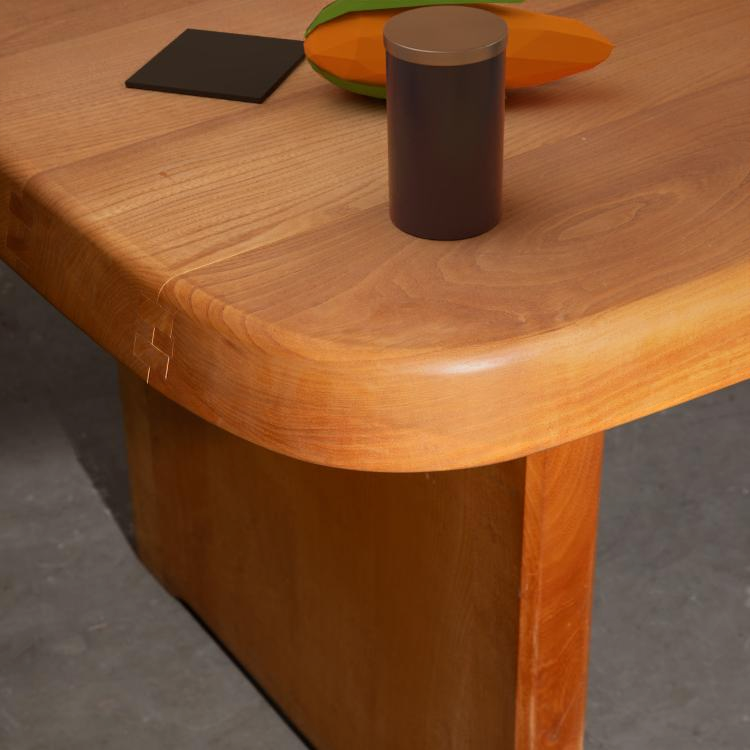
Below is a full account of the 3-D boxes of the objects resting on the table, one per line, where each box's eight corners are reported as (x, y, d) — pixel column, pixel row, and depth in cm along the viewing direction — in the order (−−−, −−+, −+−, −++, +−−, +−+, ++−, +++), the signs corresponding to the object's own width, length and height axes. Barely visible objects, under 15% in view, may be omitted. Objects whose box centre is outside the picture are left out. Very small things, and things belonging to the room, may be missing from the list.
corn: (307, -40, 95) (615, -39, 93) (314, 66, 100) (607, 69, 98) (293, 8, 89) (620, 10, 88) (301, 119, 94) (612, 123, 92)
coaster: (315, 47, 103) (315, 41, 103) (261, 103, 96) (260, 97, 95) (187, 33, 106) (187, 28, 106) (125, 87, 98) (124, 81, 98)
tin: (516, 194, 84) (522, 11, 78) (486, 248, 79) (489, 57, 73) (408, 179, 86) (405, 0, 80) (371, 232, 81) (365, 44, 75)
